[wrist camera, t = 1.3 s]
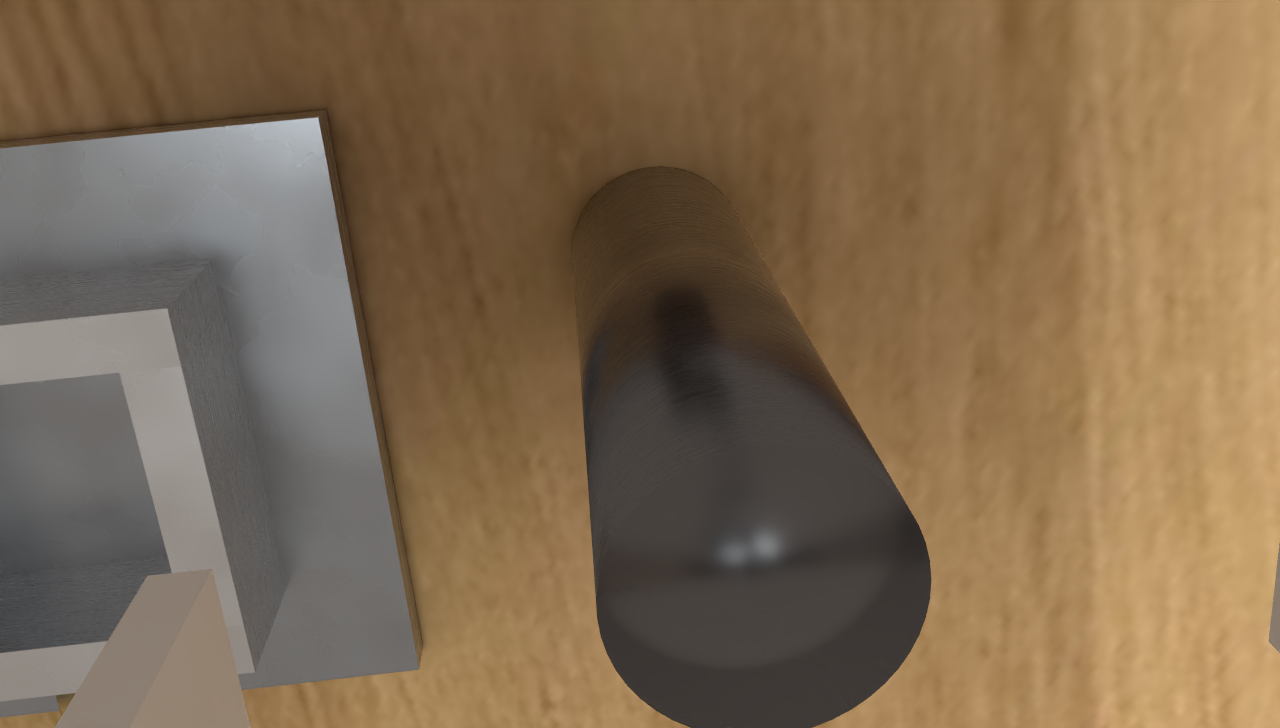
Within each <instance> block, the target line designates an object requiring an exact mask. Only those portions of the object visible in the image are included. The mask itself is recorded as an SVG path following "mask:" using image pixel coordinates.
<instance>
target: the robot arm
mask: <svg viewBox="0 0 1280 728" xmlns="http://www.w3.org/2000/svg"><path fill="white" fill-rule="evenodd" d="M1269 642H1270V643H1271V644H1272V645H1273V646H1274V647H1275V648H1276V649H1277V650H1278V651H1279V652H1280V544H1279V553H1278V562H1277V571H1276V580H1275V589H1274V598H1273V607H1272V616H1271V625H1270V634H1269ZM55 728H251V727H250V723H249V719H248V715H247V710H246V706H245V702H244V698H243V694H242V690H241V686H240V682H239V677H238V673H237V669H236V665H235V661H234V657H233V653H232V648H231V644H230V640H229V636H228V632H227V628H226V624H225V619H224V615H223V611H222V607H221V603H220V599H219V595H218V591H217V586H216V582H215V578H214V574H213V570H212V569H205V570H196V571H187V572H178V573H169V574H160V575H151V576H147V577H146V579H145V580H144V582H143V584H142V585H141V587H140V589H139V590H138V592H137V594H136V595H135V597H134V599H133V600H132V602H131V603H130V605H129V607H128V608H127V610H126V612H125V613H124V615H123V617H122V618H121V620H120V621H119V623H118V625H117V626H116V628H115V630H114V631H113V633H112V635H111V636H110V638H109V640H108V641H107V643H106V644H105V646H104V648H103V649H102V651H101V653H100V654H99V656H98V658H97V659H96V661H95V663H94V664H93V666H92V667H91V669H90V671H89V672H88V674H87V676H86V677H85V679H84V681H83V682H82V684H81V686H80V687H79V689H78V690H77V692H76V694H75V695H74V697H73V699H72V700H71V702H70V704H69V705H68V707H67V708H66V710H65V712H64V713H63V715H62V717H61V718H60V720H59V722H58V723H57V725H56V727H55Z"/></svg>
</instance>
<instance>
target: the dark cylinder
mask: <svg viewBox="0 0 1280 728" xmlns="http://www.w3.org/2000/svg"><path fill="white" fill-rule="evenodd" d="M572 256H573V272H574V287H575V301H576V316H577V330H578V345H579V359H580V374H581V388H582V403H583V417H584V432H585V446H586V461H587V475H588V490H589V504H590V519H591V533H592V548H593V562H594V577H595V591H596V605H597V619H598V624H599V629H600V634H601V638H602V641H603V644H604V646H605V649H606V652H607V654H608V656H609V658H610V660H611V662H612V664H613V666H614V667H615V669H616V671H617V672H618V674H619V675H620V676H621V678H622V679H623V680H624V682H625V683H626V684H627V686H628V687H629V688H630V689H631V690H632V691H633V692H634V693H635V694H636V695H637V696H638V697H639V698H640V699H642V700H643V701H644V702H646V703H647V704H648V705H649V706H651V707H652V708H653V709H655V710H656V711H658V712H660V713H661V714H663V715H665V716H667V717H668V718H670V719H672V720H674V721H676V722H678V723H681V724H683V725H686V726H688V727H691V728H812V727H815V726H817V725H820V724H822V723H825V722H827V721H830V720H832V719H834V718H836V717H838V716H840V715H842V714H844V713H845V712H847V711H849V710H851V709H853V708H854V707H856V706H857V705H859V704H860V703H861V702H863V701H864V700H866V699H867V698H869V697H870V696H871V695H872V694H873V693H875V692H876V691H877V690H878V689H879V688H880V687H881V686H883V685H884V684H885V683H886V682H887V681H888V679H889V678H890V677H891V676H892V675H893V674H894V673H895V672H896V671H897V670H898V668H899V667H900V666H901V664H902V663H903V661H904V660H905V659H906V657H907V656H908V654H909V653H910V651H911V649H912V647H913V646H914V644H915V642H916V640H917V638H918V636H919V634H920V631H921V628H922V626H923V623H924V620H925V618H926V614H927V609H928V605H929V600H930V590H931V570H930V560H929V555H928V551H927V547H926V542H925V540H924V537H923V535H922V532H921V530H920V527H919V525H918V523H917V522H916V520H915V518H914V516H913V515H912V513H911V511H910V510H909V508H908V506H907V505H906V503H905V501H904V499H903V498H902V496H901V494H900V493H899V491H898V489H897V487H896V486H895V484H894V482H893V481H892V479H891V477H890V476H889V474H888V472H887V470H886V469H885V467H884V465H883V464H882V462H881V460H880V459H879V457H878V455H877V453H876V452H875V450H874V448H873V447H872V445H871V443H870V442H869V440H868V438H867V436H866V435H865V433H864V431H863V430H862V428H861V426H860V424H859V423H858V421H857V419H856V418H855V416H854V414H853V413H852V411H851V409H850V407H849V406H848V404H847V402H846V401H845V399H844V397H843V396H842V394H841V392H840V390H839V389H838V387H837V385H836V384H835V382H834V380H833V379H832V377H831V375H830V373H829V372H828V370H827V368H826V367H825V365H824V363H823V361H822V360H821V358H820V356H819V355H818V353H817V351H816V350H815V348H814V346H813V344H812V343H811V341H810V339H809V338H808V336H807V334H806V333H805V331H804V329H803V327H802V326H801V324H800V322H799V321H798V319H797V317H796V316H795V314H794V312H793V310H792V309H791V307H790V305H789V304H788V302H787V300H786V298H785V297H784V295H783V293H782V292H781V290H780V288H779V287H778V285H777V283H776V281H775V280H774V278H773V276H772V275H771V273H770V271H769V270H768V268H767V266H766V264H765V263H764V261H763V259H762V258H761V256H760V254H759V253H758V251H757V249H756V247H755V246H754V244H753V242H752V241H751V239H750V237H749V235H748V234H747V232H746V230H745V229H744V227H743V225H742V224H741V222H740V220H739V218H738V217H737V215H736V213H735V212H734V210H733V208H732V207H731V205H730V203H729V202H728V200H727V199H726V198H725V197H724V195H723V194H722V193H721V192H720V191H719V190H718V189H717V188H716V187H715V186H713V185H712V184H711V183H709V182H708V181H706V180H705V179H703V178H701V177H699V176H698V175H696V174H693V173H690V172H688V171H685V170H681V169H677V168H670V167H649V168H643V169H638V170H635V171H631V172H628V173H626V174H624V175H622V176H619V177H617V178H616V179H614V180H613V181H611V182H609V183H608V184H607V185H605V186H604V187H603V188H602V189H600V190H599V191H598V192H597V193H596V194H595V196H594V197H593V198H592V199H591V200H590V202H589V203H588V204H587V206H586V207H585V209H584V210H583V212H582V214H581V216H580V218H579V221H578V223H577V226H576V229H575V233H574V238H573V246H572Z"/></svg>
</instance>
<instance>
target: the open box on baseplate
mask: <svg viewBox="0 0 1280 728" xmlns="http://www.w3.org/2000/svg"><path fill="white" fill-rule="evenodd" d="M205 569H212V570H213V574H214V578H215V582H216V586H217V591H218V595H219V599H220V603H221V607H222V611H223V615H224V619H225V624H226V628H227V632H228V636H229V640H230V644H231V648H232V653H233V657H234V661H235V665H236V669H237V673H238V677H239V682H240V686H241V690H244V689H253V688H262V687H271V686H279V685H288V684H297V683H305V682H314V681H323V680H332V679H340V678H349V677H358V676H367V675H375V674H384V673H393V672H401V671H410V670H419V667H420V661H421V655H422V649H423V645H422V639H421V634H420V628H419V622H418V617H417V611H416V606H415V600H414V595H413V589H412V584H411V578H410V572H409V567H408V561H407V556H406V550H405V545H404V539H403V533H402V528H401V522H400V517H399V511H398V506H397V500H396V494H395V489H394V483H393V478H392V472H391V467H390V461H389V456H388V450H387V444H386V439H385V433H384V428H383V422H382V417H381V411H380V405H379V400H378V394H377V389H376V383H375V378H374V372H373V367H372V361H371V355H370V350H369V344H368V339H367V333H366V328H365V322H364V316H363V311H362V305H361V300H360V294H359V289H358V283H357V277H356V272H355V266H354V261H353V255H352V250H351V244H350V239H349V233H348V227H347V222H346V216H345V211H344V205H343V200H342V194H341V188H340V183H339V177H338V172H337V166H336V161H335V155H334V150H333V144H332V138H331V133H330V127H329V122H328V116H327V111H326V109H325V110H315V111H305V112H295V113H284V114H274V115H264V116H254V117H244V118H233V119H223V120H213V121H203V122H193V123H183V124H172V125H162V126H152V127H142V128H132V129H122V130H111V131H101V132H91V133H81V134H71V135H61V136H50V137H40V138H30V139H20V140H10V141H0V717H9V716H18V715H26V714H35V713H44V712H53V711H60V712H61V716H62V715H63V713H64V712H65V710H66V708H67V707H68V705H69V704H70V702H71V700H72V699H73V697H74V695H75V694H76V692H77V690H78V689H79V687H80V686H81V684H82V682H83V681H84V679H85V677H86V676H87V674H88V672H89V671H90V669H91V667H92V666H93V664H94V663H95V661H96V659H97V658H98V656H99V654H100V653H101V651H102V649H103V648H104V646H105V644H106V643H107V641H108V640H109V638H110V636H111V635H112V633H113V631H114V630H115V628H116V626H117V625H118V623H119V621H120V620H121V618H122V617H123V615H124V613H125V612H126V610H127V608H128V607H129V605H130V603H131V602H132V600H133V599H134V597H135V595H136V594H137V592H138V590H139V589H140V587H141V585H142V584H143V582H144V580H145V579H146V577H147V576H151V575H160V574H169V573H178V572H187V571H196V570H205Z"/></svg>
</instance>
